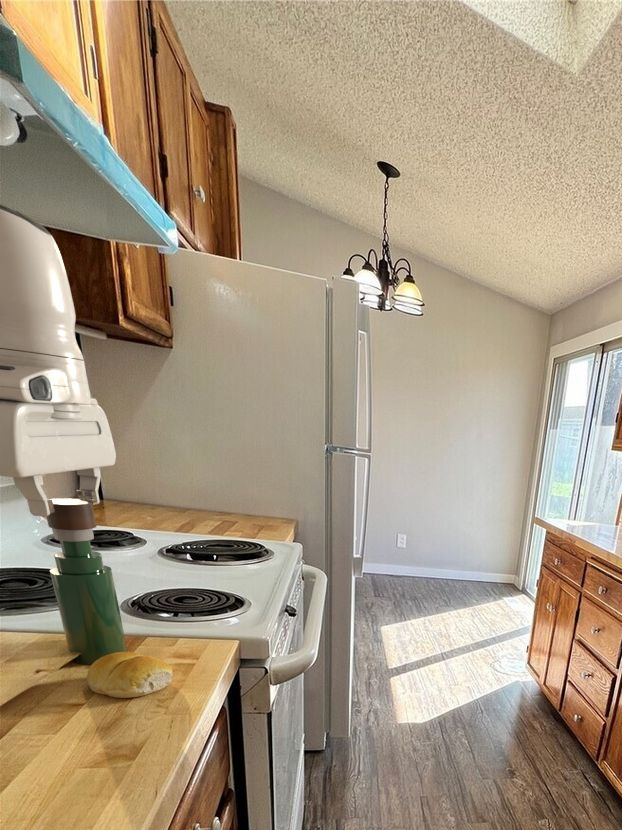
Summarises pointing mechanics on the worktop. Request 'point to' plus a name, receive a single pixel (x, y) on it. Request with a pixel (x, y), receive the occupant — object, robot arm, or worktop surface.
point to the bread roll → (128, 675)
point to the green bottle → (86, 598)
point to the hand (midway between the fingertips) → (68, 509)
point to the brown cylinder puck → (72, 515)
